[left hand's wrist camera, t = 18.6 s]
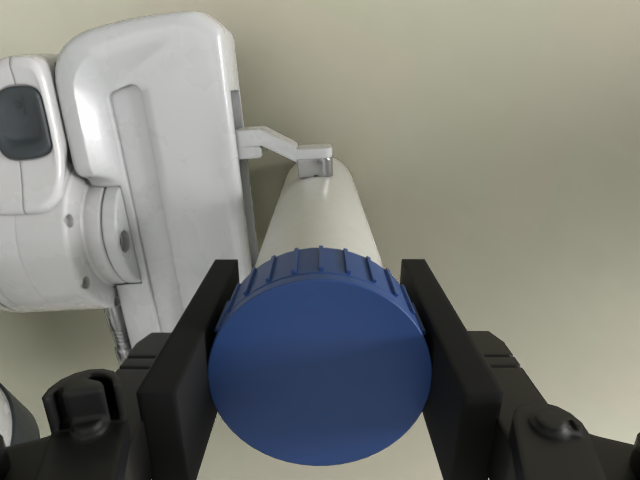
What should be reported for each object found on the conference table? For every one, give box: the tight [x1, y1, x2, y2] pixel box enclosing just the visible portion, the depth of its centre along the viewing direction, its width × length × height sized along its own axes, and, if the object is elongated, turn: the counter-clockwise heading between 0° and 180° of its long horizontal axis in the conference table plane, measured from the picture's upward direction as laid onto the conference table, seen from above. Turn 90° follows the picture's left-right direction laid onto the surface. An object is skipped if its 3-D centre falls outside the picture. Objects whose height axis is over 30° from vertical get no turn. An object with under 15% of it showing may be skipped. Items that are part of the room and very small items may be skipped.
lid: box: [208, 245, 432, 466], centre depth 11 cm, size 6×6×2 cm
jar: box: [255, 158, 384, 269], centre depth 20 cm, size 5×5×19 cm
